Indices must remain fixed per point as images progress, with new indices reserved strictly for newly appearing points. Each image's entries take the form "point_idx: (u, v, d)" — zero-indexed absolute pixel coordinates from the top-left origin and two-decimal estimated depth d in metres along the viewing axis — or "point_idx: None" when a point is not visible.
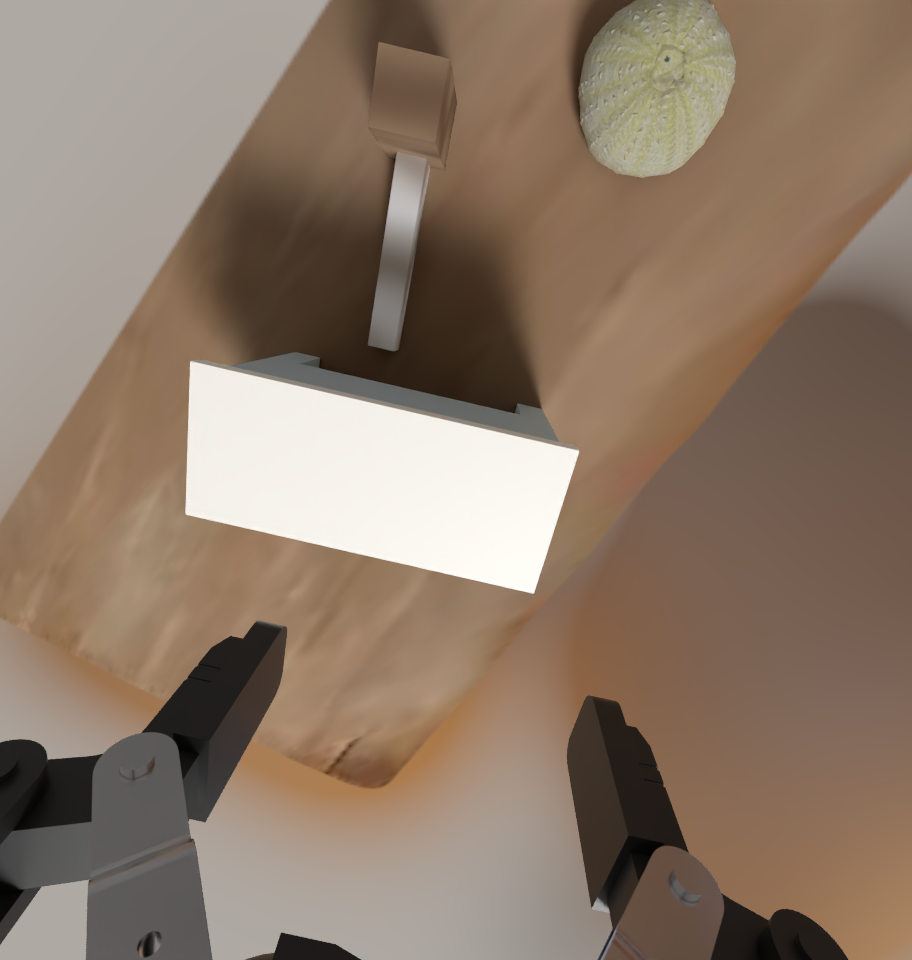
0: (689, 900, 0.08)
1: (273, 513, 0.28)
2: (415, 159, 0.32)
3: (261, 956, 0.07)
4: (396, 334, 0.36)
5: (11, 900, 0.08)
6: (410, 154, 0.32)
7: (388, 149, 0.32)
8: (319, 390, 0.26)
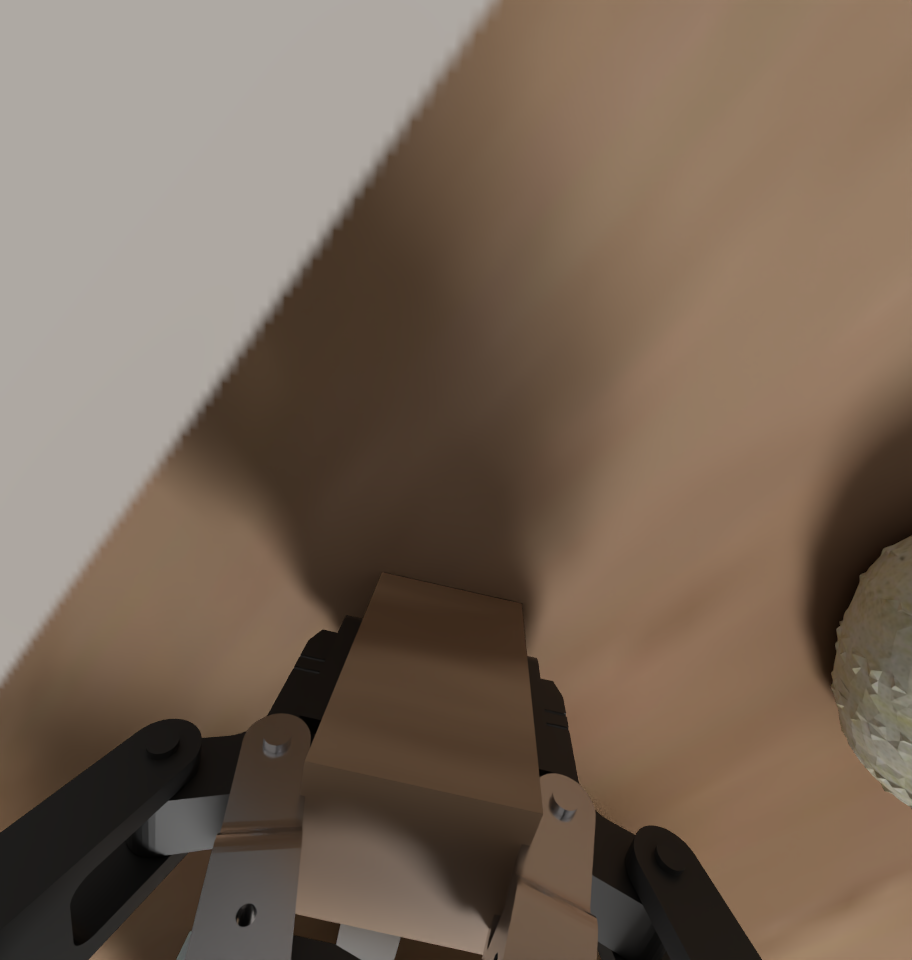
0: (562, 815, 0.09)
1: None
2: None
3: None
4: None
5: (153, 868, 0.09)
6: None
7: None
8: None
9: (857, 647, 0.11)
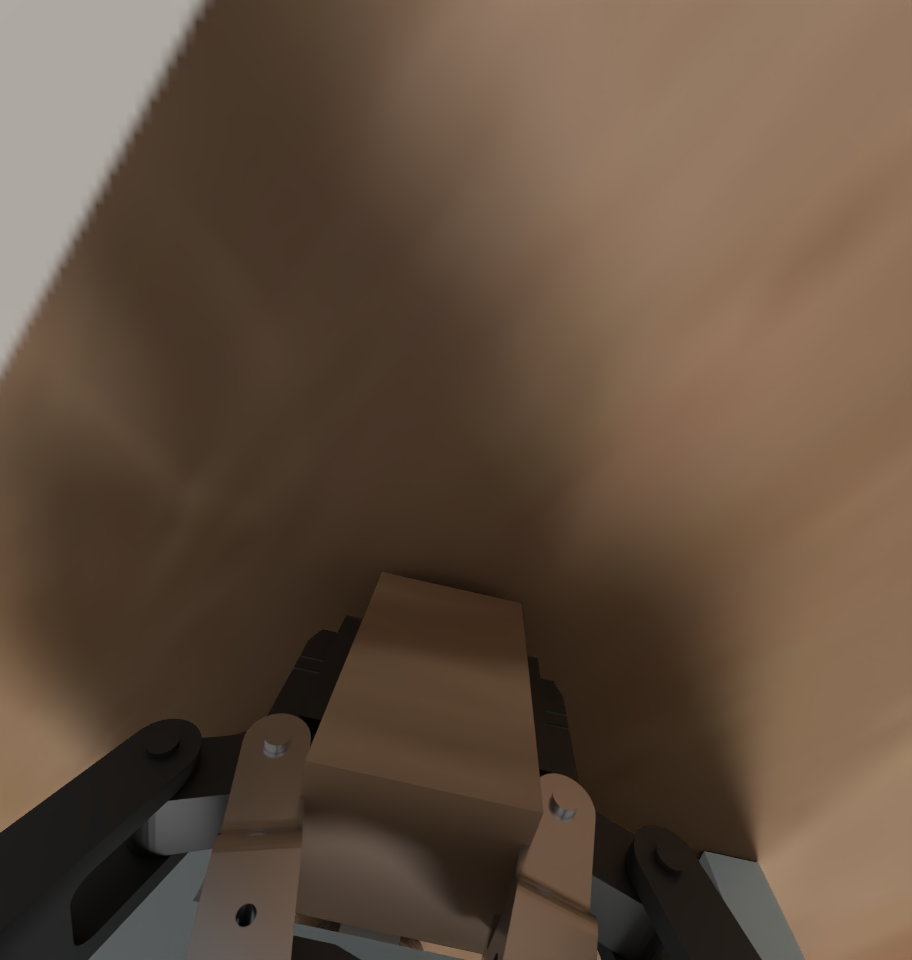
0: (563, 815, 0.09)
1: None
2: None
3: None
4: None
5: (153, 868, 0.09)
6: None
7: None
8: None
9: None
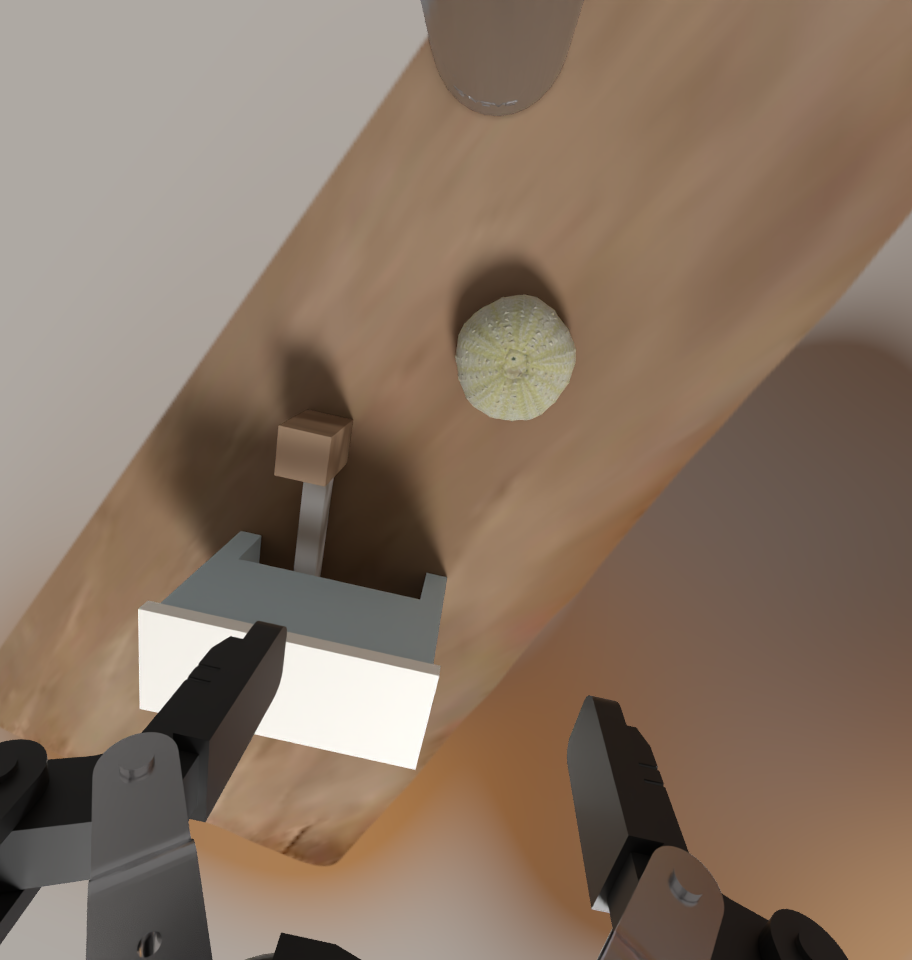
0: (689, 900, 0.08)
1: None
2: None
3: (261, 956, 0.07)
4: None
5: (11, 900, 0.08)
6: None
7: None
8: (238, 629, 0.33)
9: None
